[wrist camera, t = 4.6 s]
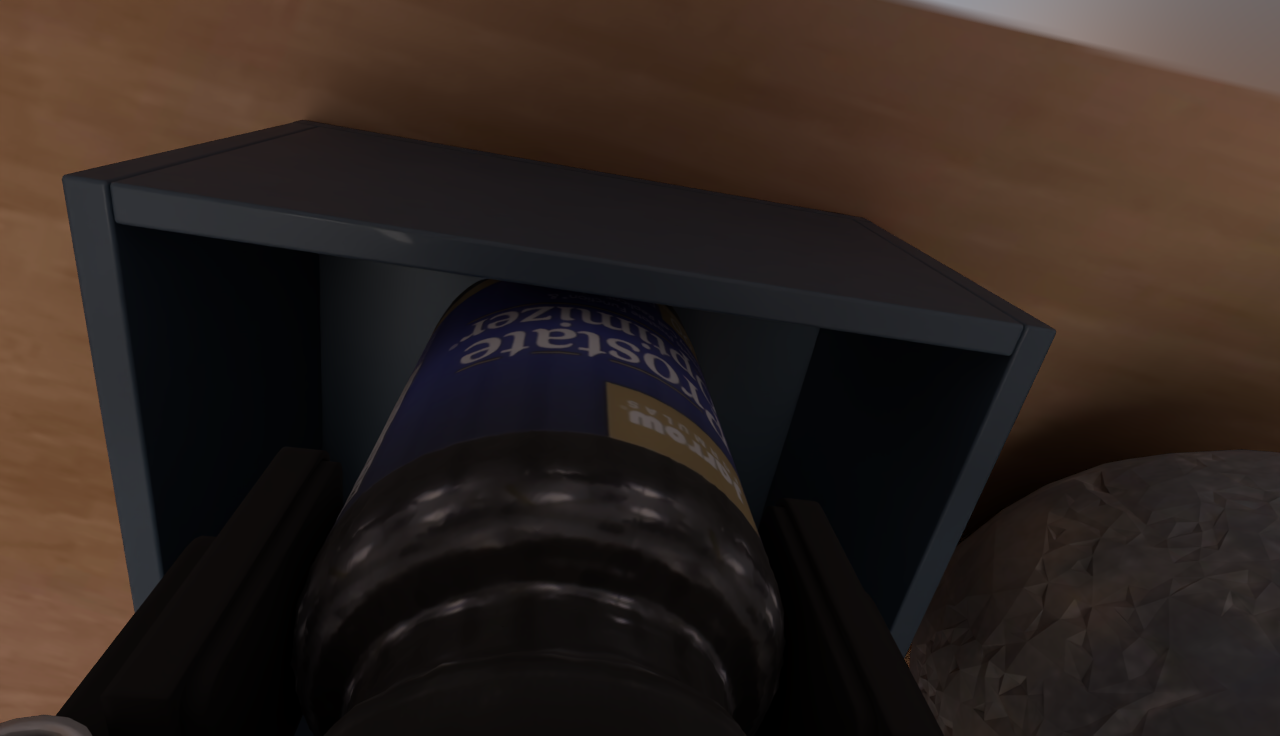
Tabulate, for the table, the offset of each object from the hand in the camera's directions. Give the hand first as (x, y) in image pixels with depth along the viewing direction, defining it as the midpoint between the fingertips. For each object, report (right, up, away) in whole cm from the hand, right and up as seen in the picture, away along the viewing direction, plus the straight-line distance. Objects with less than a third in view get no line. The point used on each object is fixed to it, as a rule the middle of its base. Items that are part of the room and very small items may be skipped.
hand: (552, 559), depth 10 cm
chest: (-1, +2, +11) cm, 11 cm away
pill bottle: (-1, +3, +6) cm, 6 cm away
